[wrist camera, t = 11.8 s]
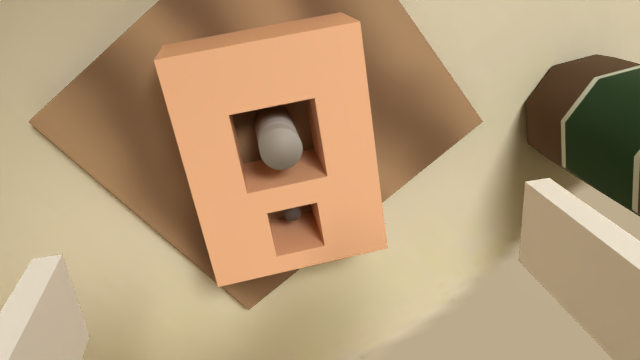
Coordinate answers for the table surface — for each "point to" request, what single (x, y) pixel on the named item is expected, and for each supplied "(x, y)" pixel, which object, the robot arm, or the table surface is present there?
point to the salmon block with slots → (256, 177)
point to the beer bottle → (591, 124)
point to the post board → (247, 113)
